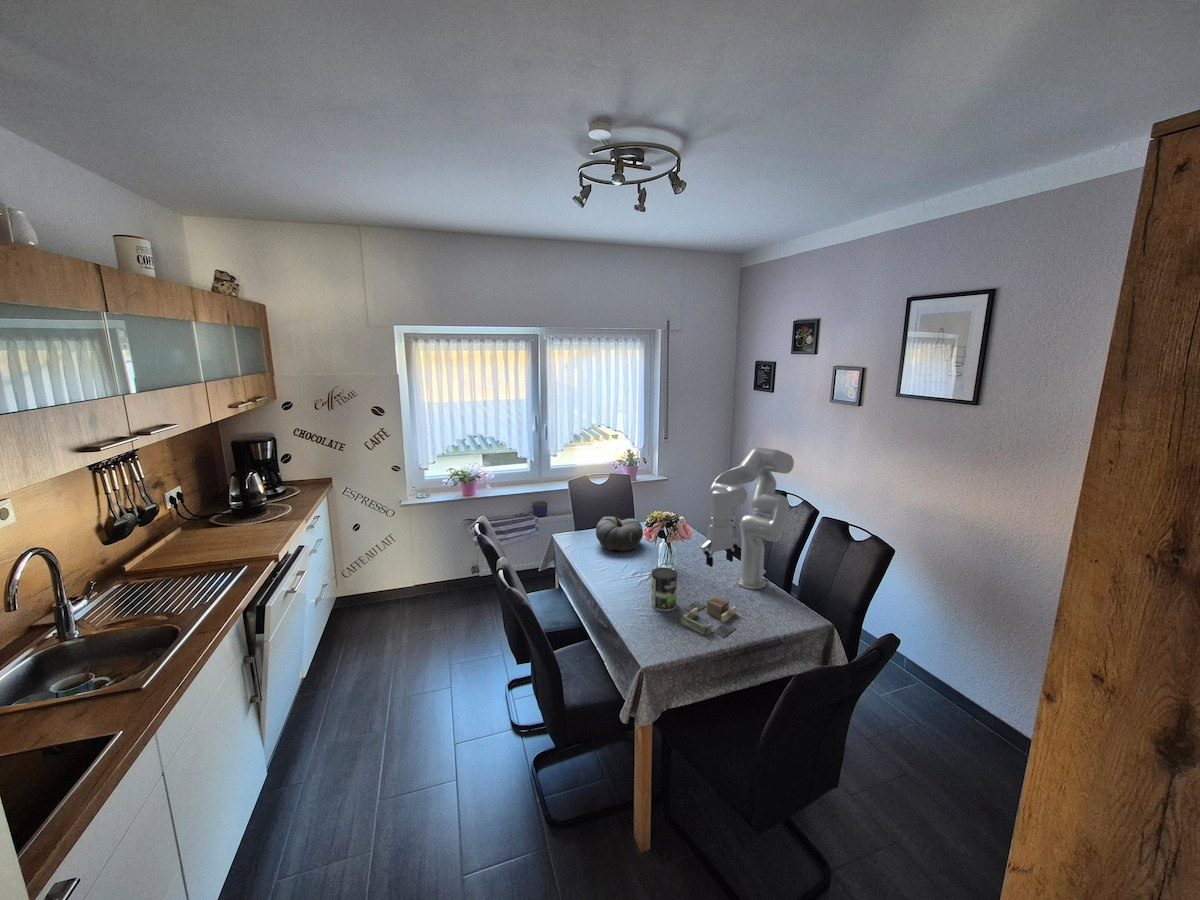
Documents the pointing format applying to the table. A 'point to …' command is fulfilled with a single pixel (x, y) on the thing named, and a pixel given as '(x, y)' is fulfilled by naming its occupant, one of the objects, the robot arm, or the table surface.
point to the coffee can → (664, 589)
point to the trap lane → (721, 630)
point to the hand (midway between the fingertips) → (719, 562)
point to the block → (717, 606)
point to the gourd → (619, 533)
